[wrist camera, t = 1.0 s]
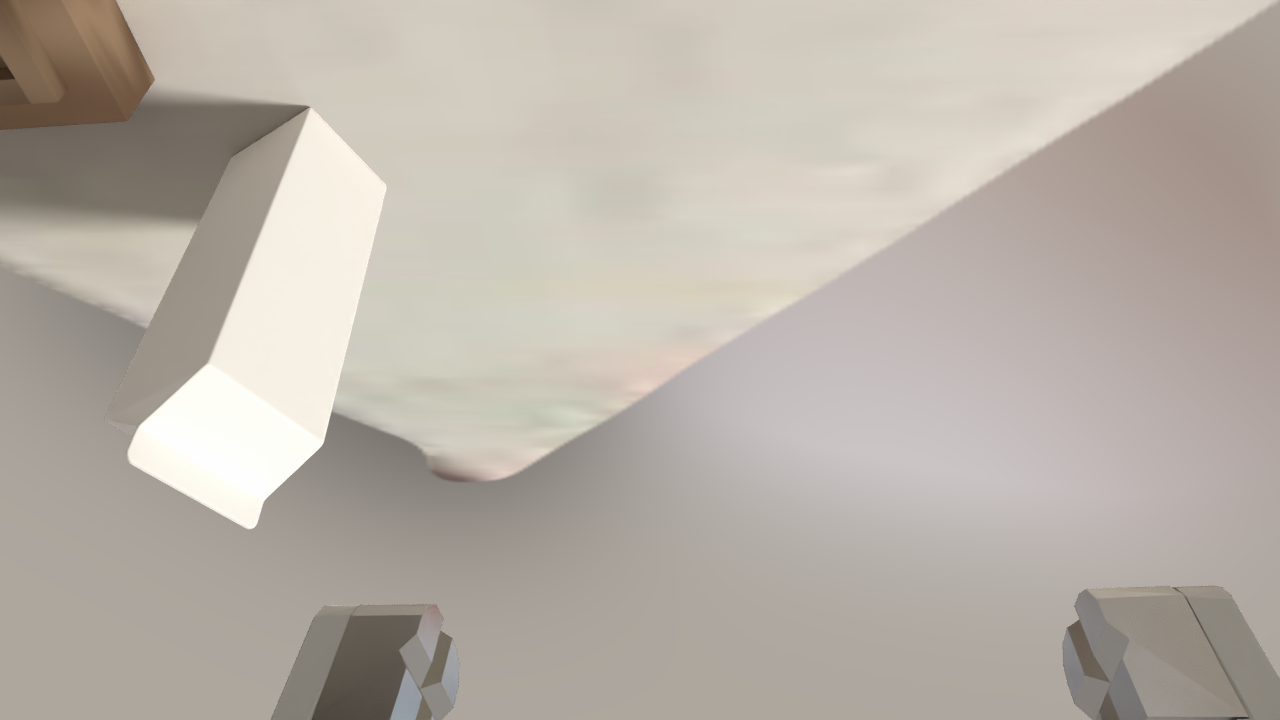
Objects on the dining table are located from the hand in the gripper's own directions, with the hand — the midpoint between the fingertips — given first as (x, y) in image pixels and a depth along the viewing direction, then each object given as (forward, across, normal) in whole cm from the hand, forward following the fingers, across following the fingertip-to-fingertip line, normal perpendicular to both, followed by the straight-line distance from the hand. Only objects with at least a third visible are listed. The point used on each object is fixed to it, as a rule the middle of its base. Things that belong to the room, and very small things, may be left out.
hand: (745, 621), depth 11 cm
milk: (+36, +23, +9) cm, 44 cm away
